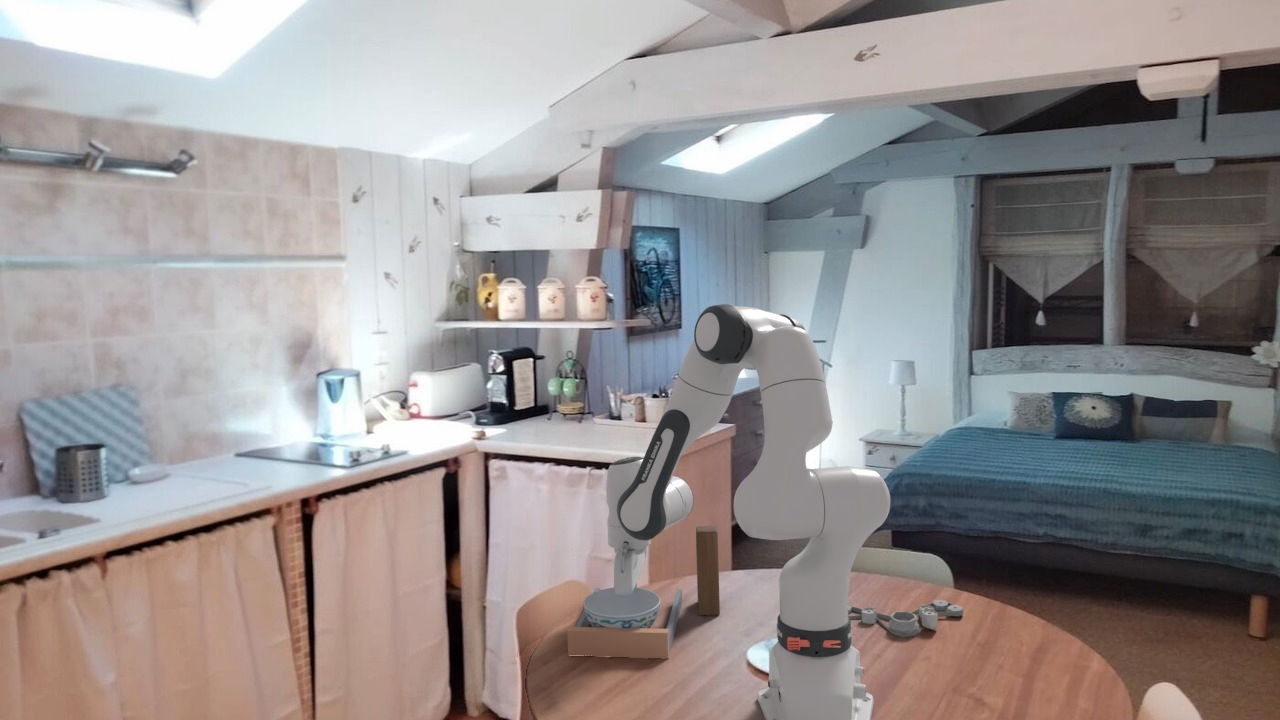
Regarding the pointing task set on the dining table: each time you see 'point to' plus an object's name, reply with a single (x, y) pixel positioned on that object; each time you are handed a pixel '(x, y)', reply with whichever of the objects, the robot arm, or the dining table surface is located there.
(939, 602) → the pulley system
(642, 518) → the robot arm
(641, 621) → the chinaware
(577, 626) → the wooden tray
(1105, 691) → the dining table surface
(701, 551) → the wooden block
